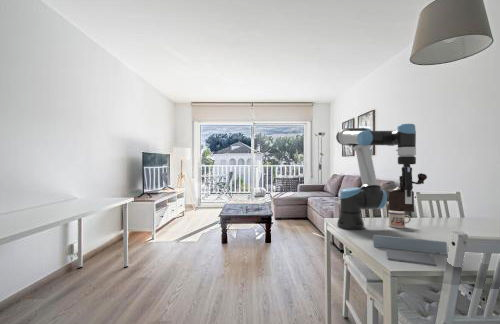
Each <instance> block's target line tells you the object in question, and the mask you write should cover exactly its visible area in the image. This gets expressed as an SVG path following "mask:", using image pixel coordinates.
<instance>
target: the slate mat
mask: <svg viewBox="0 0 500 324" xmlns="http://www.w3.org/2000/svg"><path fill="white" fill-rule="evenodd" d="M385 250H386V251H385V252H386V257H387V260H388V261H394V262H395V261H396V262H404V263H410V264H411V263H413V264H420V265H428V266H434V267H435V266H437V264H436V262H435V261H434V258H432V255H430V254H431V253H426V252H417V251H408V250H406V251H405V250H399V249H390V248H387V249H385Z"/></svg>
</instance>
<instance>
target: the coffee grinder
mask: <svg viewBox="0 0 500 324" xmlns="http://www.w3.org/2000/svg"><path fill="white" fill-rule="evenodd" d="M427 179H428V175H427V174H425V173H421V172H420V173H418V174H417V181H413V180H412V184H415V185H423V184H425V180H427ZM398 180H399V186H396V187H394V188H392V189H389V190H388V211H404V212H405V213H406V212H408V213H414V212H415V199H414V198H415V192H414V191H413V190H412V204H405V190H404V188H405V187H402V181H404V182H405V180H403V179H402V175H399V177H398Z"/></svg>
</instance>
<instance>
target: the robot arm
mask: <svg viewBox="0 0 500 324" xmlns="http://www.w3.org/2000/svg"><path fill="white" fill-rule="evenodd" d="M416 130H417V129H416V125H415V124H414V123H401V124H399V125H398V126H397V128H396V129H395V130H372V129H370V128H368V127H367V128H366V127H346V128H342V129H340V130H339V131H338V132H337V133H336V136H335V139H336V141H337V143H338V144H340V145H341V146H348V147H349V146H350V147H351V146H352V149H353V151H355V153H356V159H357V165H358V169H359V174H360V175H359V176H360V180H361V186H360V187H347V188H343V189H341V190H340V193H339V202H340V203H339V205H340V206H339V208H340V209H339V212H340V213H339V216H338V219H337V225H336V226H337V227H338V228H340V229H344V230H355V231H356V230H363V229H364V228H365V223H364V220H363V217H362V213H361V210H380V209H381V210H382V209H384V208H385V207H386V204H387V201H388V193H387V192H386V191H385V189H383V188H381V185H380V184H378V182H377V181H378V180H377V176H376V172H375V167H374V163H373V162H374V161H373V156H372V152H371V148H372V146H387V147H391V146H392V147H393V146H397V148H396V150H395V151H396V152H397V165H402V167H401V176H402V179H403V180H405V182H404V181H402V187H405V188H404V190H405V204H412V191H413V188H414V187H413V183H412V181H413V167H412V166H411V165H416V163H417V157H416V155H417V147H416V146H417V145H416V142H417V140H416V139H417V138H416V137H417V136H416V135H417V134H416V133H417V132H416Z"/></svg>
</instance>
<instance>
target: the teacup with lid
mask: <svg viewBox="0 0 500 324" xmlns="http://www.w3.org/2000/svg"><path fill="white" fill-rule="evenodd" d="M406 217H408V220H407V221H406ZM411 220H412V219H411V216H410V215H408V214H406V211H390V210H388V227H389V228H393V229H405V227H406V224H409V223H410V222H411Z"/></svg>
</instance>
